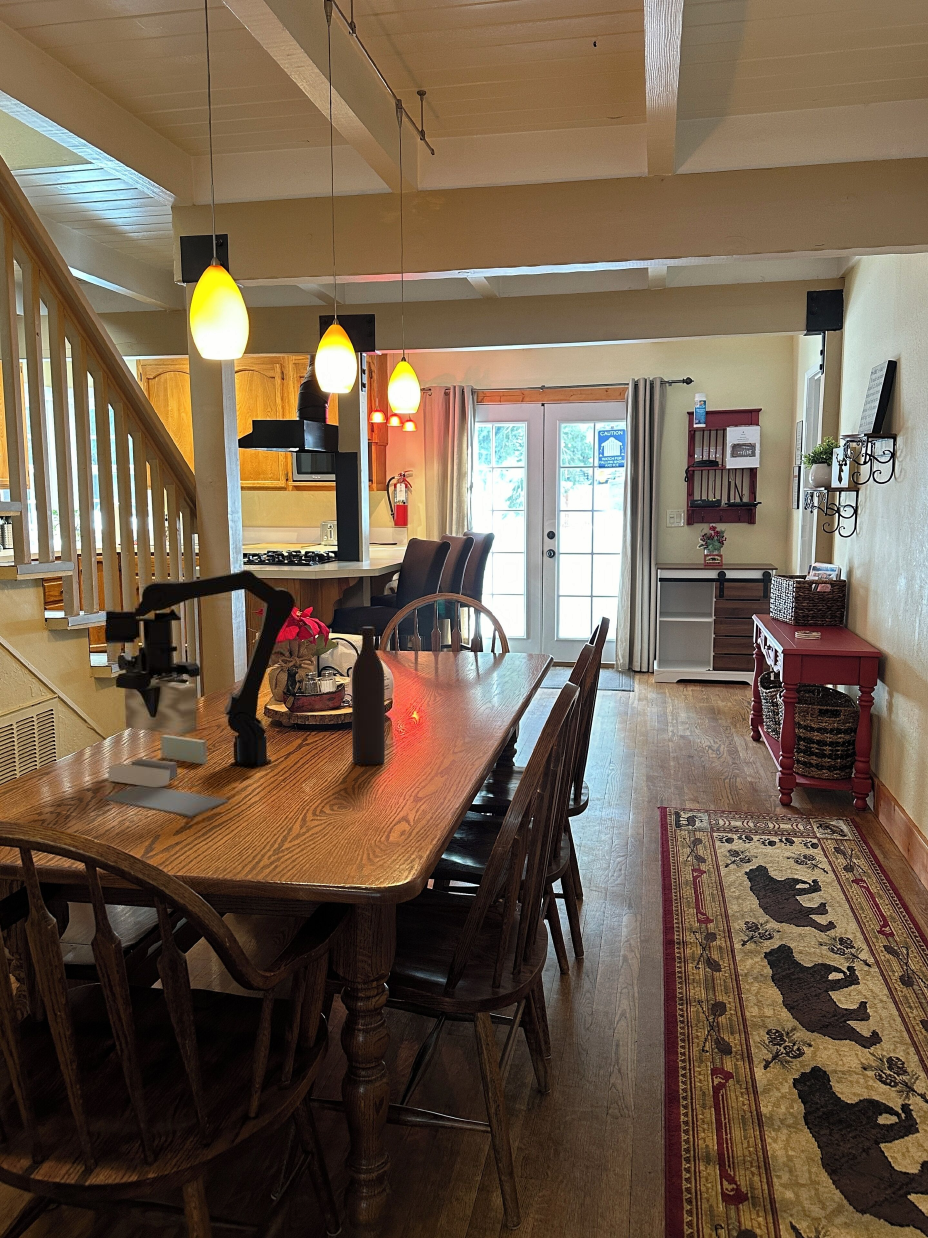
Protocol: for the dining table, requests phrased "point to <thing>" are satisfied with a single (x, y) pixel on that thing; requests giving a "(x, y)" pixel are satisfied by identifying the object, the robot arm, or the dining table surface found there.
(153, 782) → the offcut lower
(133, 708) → the beige brown block
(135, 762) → the offcut upper
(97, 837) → the dining table surface
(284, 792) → the dining table surface
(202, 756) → the panel
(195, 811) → the mat
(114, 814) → the dining table surface
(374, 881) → the dining table surface
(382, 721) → the wine bottle
